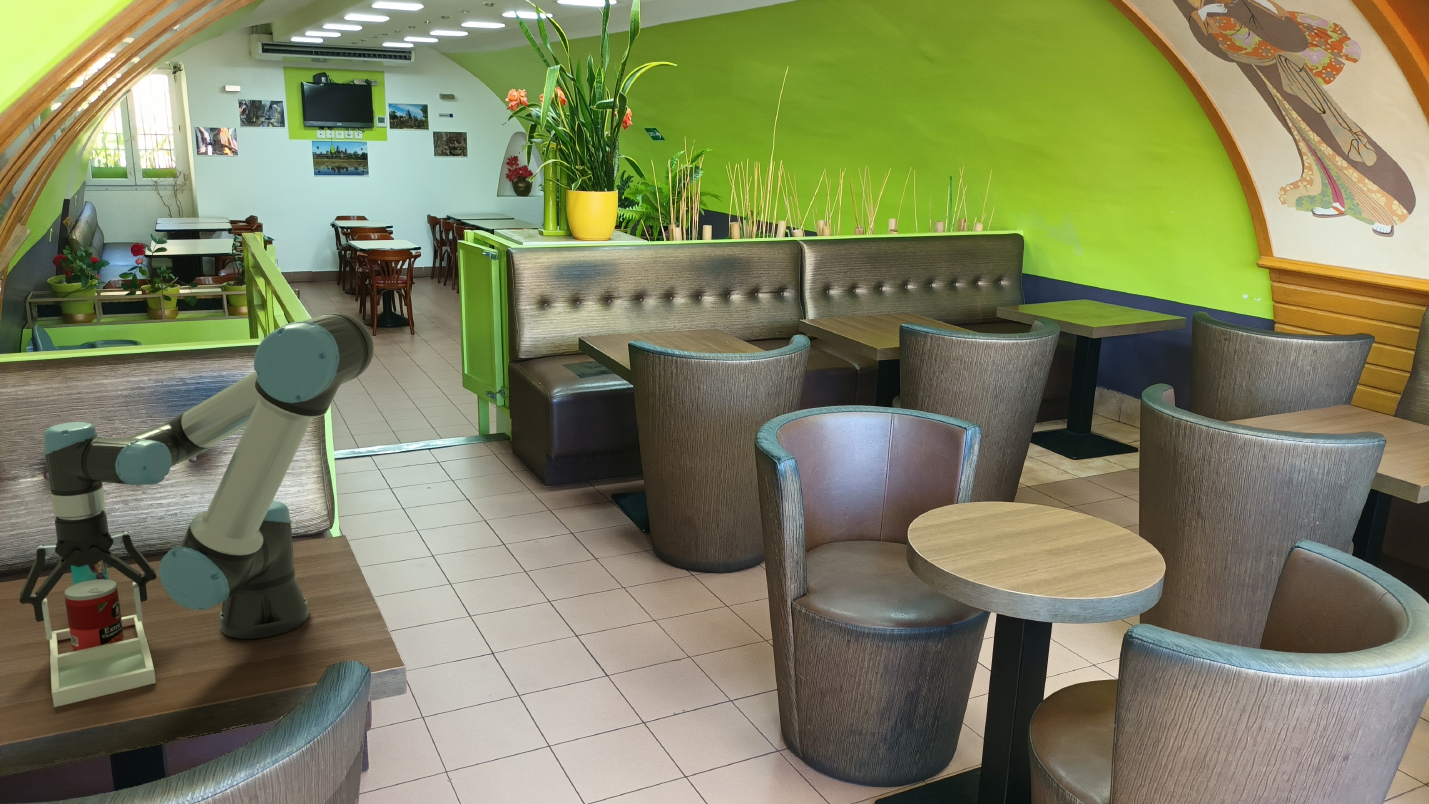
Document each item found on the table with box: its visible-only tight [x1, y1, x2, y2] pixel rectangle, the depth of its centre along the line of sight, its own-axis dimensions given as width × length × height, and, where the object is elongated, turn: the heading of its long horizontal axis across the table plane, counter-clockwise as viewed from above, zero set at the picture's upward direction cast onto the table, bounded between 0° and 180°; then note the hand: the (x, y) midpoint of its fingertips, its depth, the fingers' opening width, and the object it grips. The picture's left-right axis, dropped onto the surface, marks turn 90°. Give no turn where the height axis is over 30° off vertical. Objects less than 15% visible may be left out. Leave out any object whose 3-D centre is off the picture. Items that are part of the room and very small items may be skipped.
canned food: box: [64, 579, 125, 652], centre depth 174 cm, size 8×8×11 cm
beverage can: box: [70, 560, 110, 586], centre depth 191 cm, size 6×6×15 cm
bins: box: [49, 614, 157, 708], centre depth 170 cm, size 27×14×2 cm, turn 34°
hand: (95, 627), depth 174 cm, fingers open, 13 cm apart
